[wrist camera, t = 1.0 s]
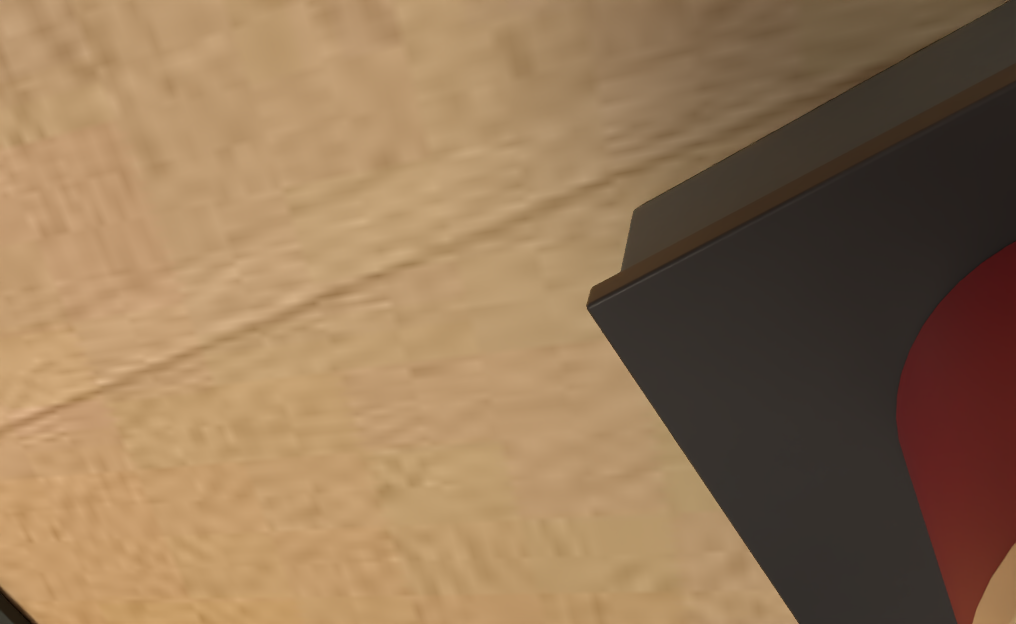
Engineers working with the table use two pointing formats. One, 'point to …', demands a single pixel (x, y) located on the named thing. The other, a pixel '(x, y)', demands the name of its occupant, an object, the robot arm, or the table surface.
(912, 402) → the tub
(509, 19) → the table surface
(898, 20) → the table surface
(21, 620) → the mat
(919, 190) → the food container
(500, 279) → the table surface
